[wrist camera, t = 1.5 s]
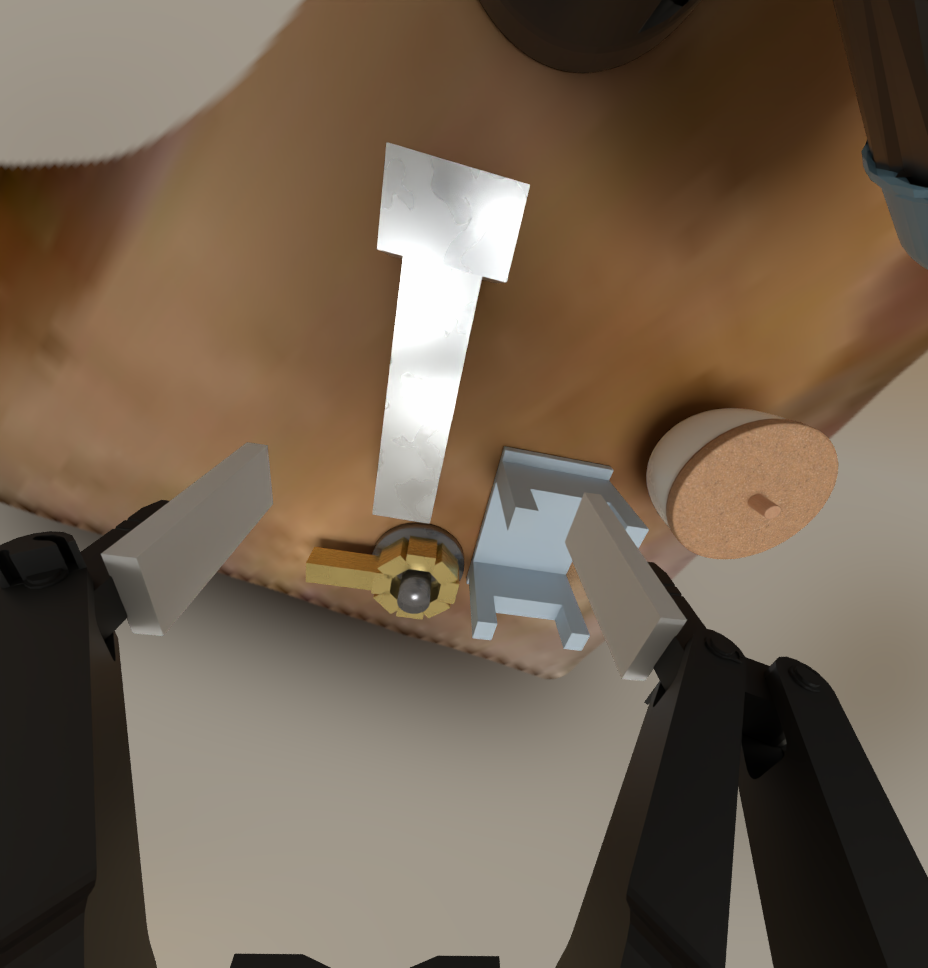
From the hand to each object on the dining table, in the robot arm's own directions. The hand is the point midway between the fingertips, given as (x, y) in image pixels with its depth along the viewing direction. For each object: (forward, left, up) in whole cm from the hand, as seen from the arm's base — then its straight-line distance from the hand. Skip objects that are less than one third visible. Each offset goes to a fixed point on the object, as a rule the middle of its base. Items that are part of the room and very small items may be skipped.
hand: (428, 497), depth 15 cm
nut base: (+16, +1, -15) cm, 22 cm away
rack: (+10, +11, -15) cm, 21 cm away
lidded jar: (0, +22, -15) cm, 26 cm away
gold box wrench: (+16, -2, -14) cm, 21 cm away
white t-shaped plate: (-2, -1, -15) cm, 15 cm away
